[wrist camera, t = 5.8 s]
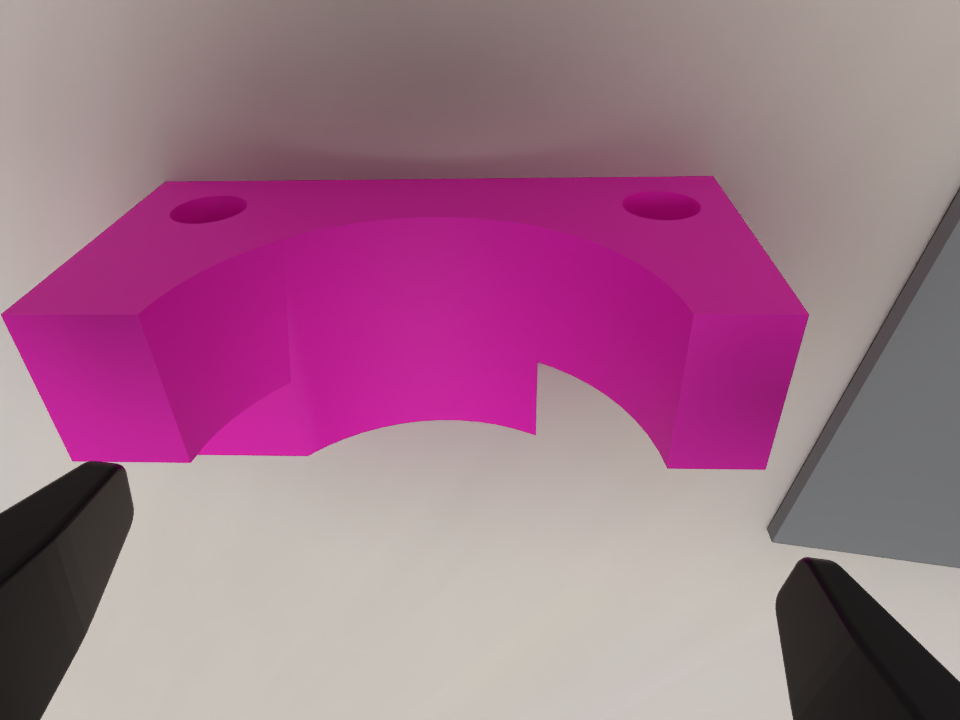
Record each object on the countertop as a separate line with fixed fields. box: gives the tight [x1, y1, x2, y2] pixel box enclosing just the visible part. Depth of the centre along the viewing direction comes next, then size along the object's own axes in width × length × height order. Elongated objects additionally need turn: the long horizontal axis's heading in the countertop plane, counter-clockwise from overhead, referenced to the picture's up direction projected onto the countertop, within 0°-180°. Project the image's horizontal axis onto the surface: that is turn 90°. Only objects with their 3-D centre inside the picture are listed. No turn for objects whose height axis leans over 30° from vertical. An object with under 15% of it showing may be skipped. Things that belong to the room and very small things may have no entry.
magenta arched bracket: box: [1, 176, 809, 470], centre depth 17 cm, size 15×6×8 cm, turn 92°
